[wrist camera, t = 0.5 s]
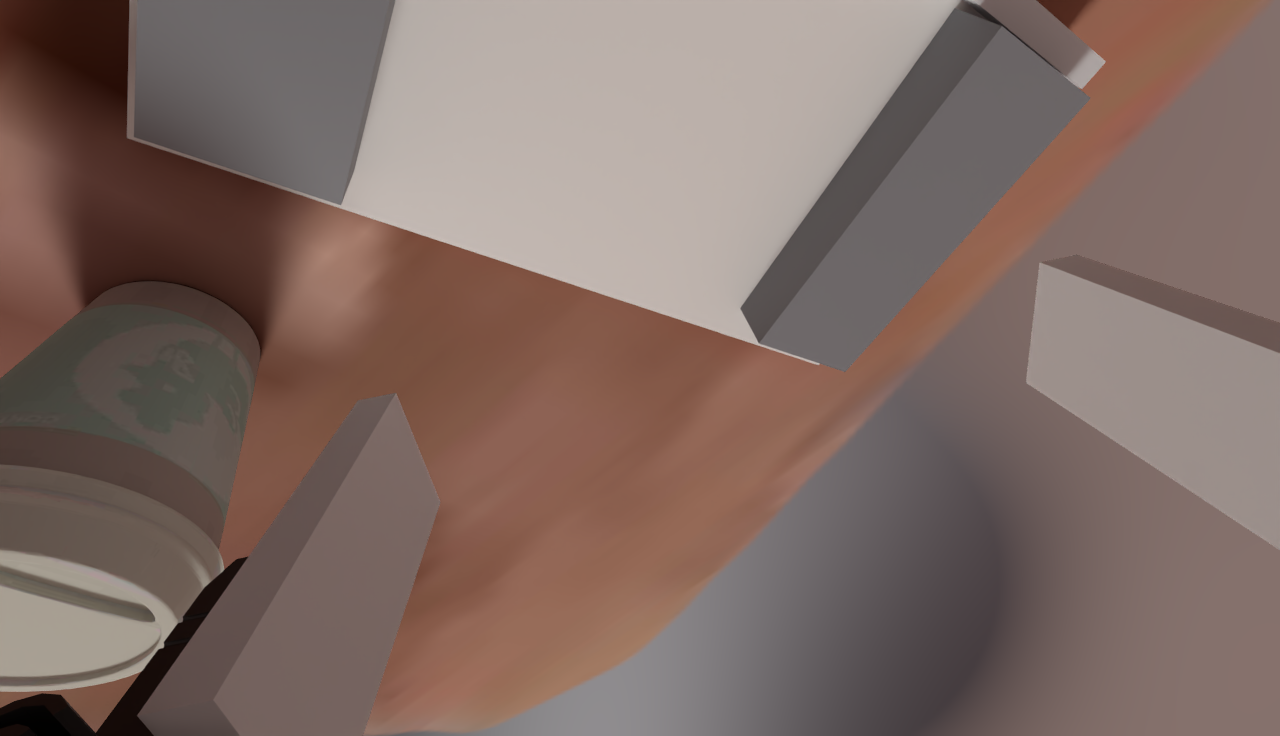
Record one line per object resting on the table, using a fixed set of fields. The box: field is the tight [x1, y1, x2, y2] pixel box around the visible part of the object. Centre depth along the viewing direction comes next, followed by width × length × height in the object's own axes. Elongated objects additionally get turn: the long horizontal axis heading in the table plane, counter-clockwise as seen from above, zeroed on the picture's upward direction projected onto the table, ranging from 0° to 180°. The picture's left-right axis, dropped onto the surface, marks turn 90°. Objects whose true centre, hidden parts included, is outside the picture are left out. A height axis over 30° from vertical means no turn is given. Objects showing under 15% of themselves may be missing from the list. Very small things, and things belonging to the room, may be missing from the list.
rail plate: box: [127, 0, 1106, 372], centre depth 20 cm, size 28×16×4 cm, turn 62°
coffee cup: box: [0, 281, 260, 692], centre depth 20 cm, size 8×8×12 cm
